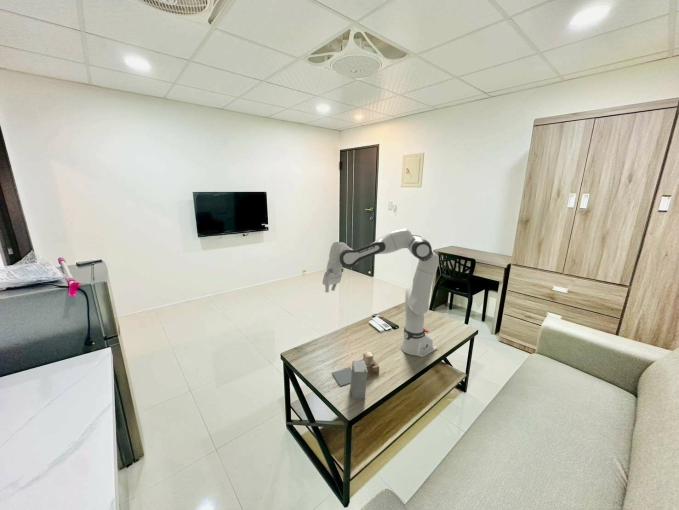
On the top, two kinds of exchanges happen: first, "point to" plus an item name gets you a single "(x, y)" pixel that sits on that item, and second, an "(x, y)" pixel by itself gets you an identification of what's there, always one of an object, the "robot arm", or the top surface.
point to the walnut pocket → (372, 369)
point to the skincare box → (358, 379)
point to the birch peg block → (368, 359)
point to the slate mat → (343, 376)
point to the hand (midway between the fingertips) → (330, 291)
